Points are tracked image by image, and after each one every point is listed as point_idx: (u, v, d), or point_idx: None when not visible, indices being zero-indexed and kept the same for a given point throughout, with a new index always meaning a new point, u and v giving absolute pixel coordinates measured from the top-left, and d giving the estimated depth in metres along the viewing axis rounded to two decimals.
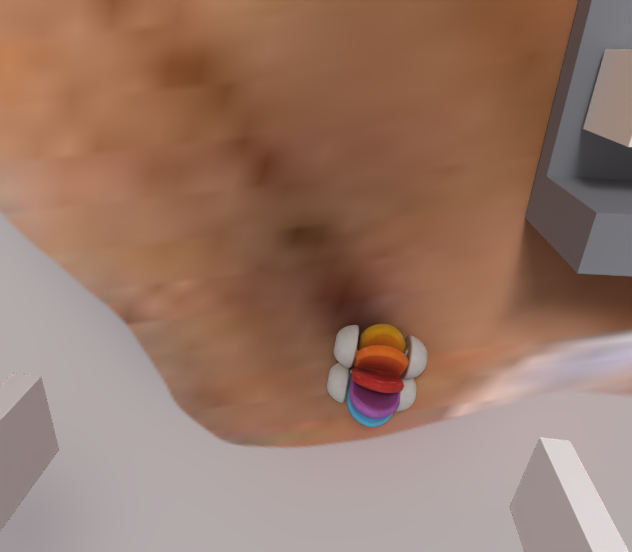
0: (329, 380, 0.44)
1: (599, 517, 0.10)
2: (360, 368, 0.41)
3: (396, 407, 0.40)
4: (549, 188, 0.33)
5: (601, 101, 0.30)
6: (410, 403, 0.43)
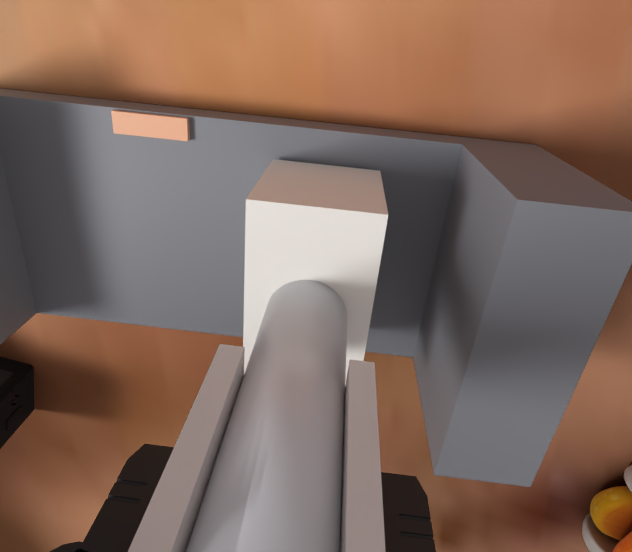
0: None
1: (368, 412, 0.12)
2: None
3: None
4: None
5: None
6: None
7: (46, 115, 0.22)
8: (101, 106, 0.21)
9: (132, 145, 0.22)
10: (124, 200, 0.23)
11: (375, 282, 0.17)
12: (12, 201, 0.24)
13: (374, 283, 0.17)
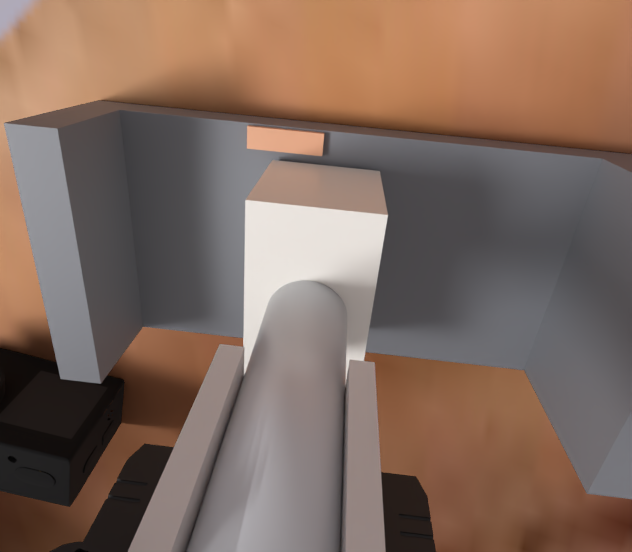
0: None
1: (368, 412, 0.12)
2: None
3: None
4: None
5: None
6: None
7: (178, 130, 0.21)
8: (235, 121, 0.21)
9: (262, 160, 0.22)
10: None
11: (375, 283, 0.17)
12: (131, 216, 0.24)
13: (374, 283, 0.17)
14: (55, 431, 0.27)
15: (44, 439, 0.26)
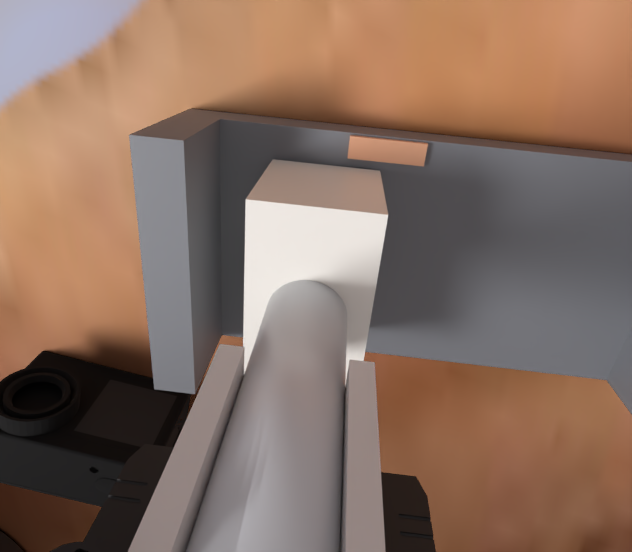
0: None
1: (367, 413, 0.12)
2: None
3: None
4: None
5: None
6: None
7: (277, 140, 0.21)
8: (336, 131, 0.21)
9: None
10: None
11: (375, 282, 0.17)
12: (221, 225, 0.23)
13: (374, 283, 0.17)
14: (134, 441, 0.27)
15: (124, 450, 0.26)
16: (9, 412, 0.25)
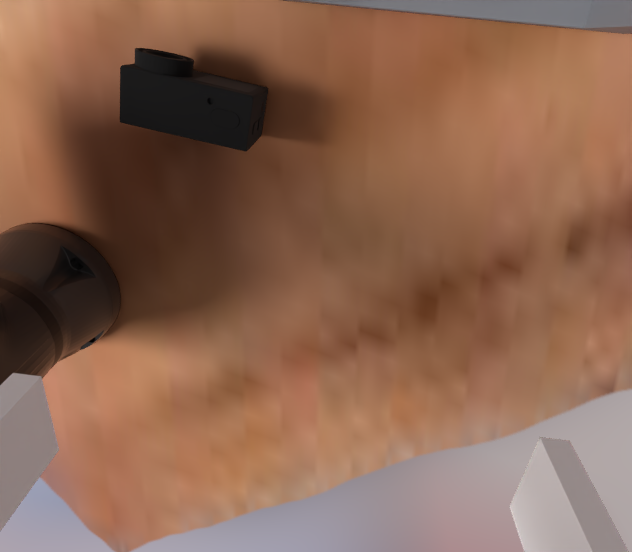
0: None
1: (599, 517, 0.10)
2: None
3: None
4: (598, 28, 0.34)
5: None
6: None
7: None
8: None
9: None
10: None
11: None
12: None
13: None
14: (236, 89, 0.36)
15: (230, 90, 0.36)
16: None
